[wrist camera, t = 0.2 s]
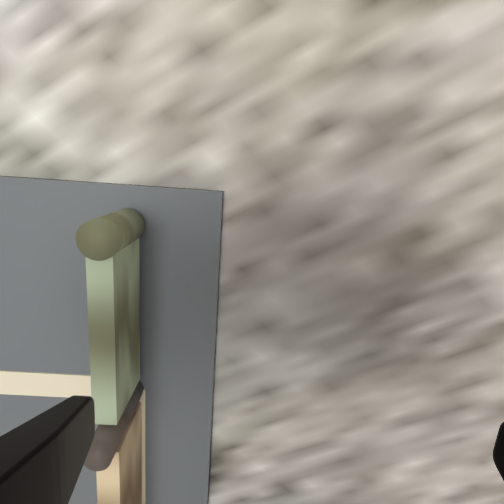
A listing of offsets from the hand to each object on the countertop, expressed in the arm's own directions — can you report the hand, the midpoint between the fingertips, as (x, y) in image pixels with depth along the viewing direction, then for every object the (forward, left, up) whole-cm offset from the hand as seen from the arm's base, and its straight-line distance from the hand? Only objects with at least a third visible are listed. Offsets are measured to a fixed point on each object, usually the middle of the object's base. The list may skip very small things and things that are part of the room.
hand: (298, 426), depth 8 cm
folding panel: (-2, +8, -13) cm, 15 cm away
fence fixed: (-14, +8, -13) cm, 21 cm away
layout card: (-8, +12, -14) cm, 20 cm away
